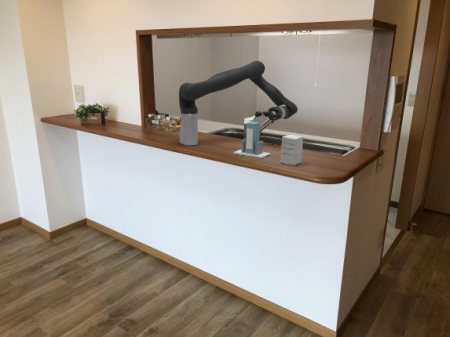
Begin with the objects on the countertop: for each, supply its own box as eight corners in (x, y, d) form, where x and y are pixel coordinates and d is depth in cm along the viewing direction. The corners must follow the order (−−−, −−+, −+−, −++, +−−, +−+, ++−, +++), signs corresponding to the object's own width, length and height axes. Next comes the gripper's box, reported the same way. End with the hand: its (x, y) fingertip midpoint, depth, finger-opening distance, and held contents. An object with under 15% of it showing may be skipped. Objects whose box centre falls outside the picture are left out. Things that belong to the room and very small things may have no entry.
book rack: (233, 154, 186) (234, 140, 184) (242, 150, 193) (243, 137, 191) (261, 159, 178) (262, 144, 176) (270, 155, 185) (271, 141, 183)
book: (244, 153, 184) (246, 123, 180) (251, 150, 189) (252, 121, 185) (252, 154, 182) (254, 124, 177) (258, 152, 187) (260, 122, 182)
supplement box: (287, 160, 177) (289, 134, 174) (301, 162, 173) (304, 136, 169) (279, 163, 172) (281, 136, 168) (294, 166, 167) (296, 138, 164)
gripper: (265, 105, 210) (251, 107, 197) (288, 107, 202) (275, 110, 189) (264, 118, 212) (250, 121, 199) (287, 121, 204) (274, 124, 191)
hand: (262, 116), depth 194 cm, fingers open, 8 cm apart
